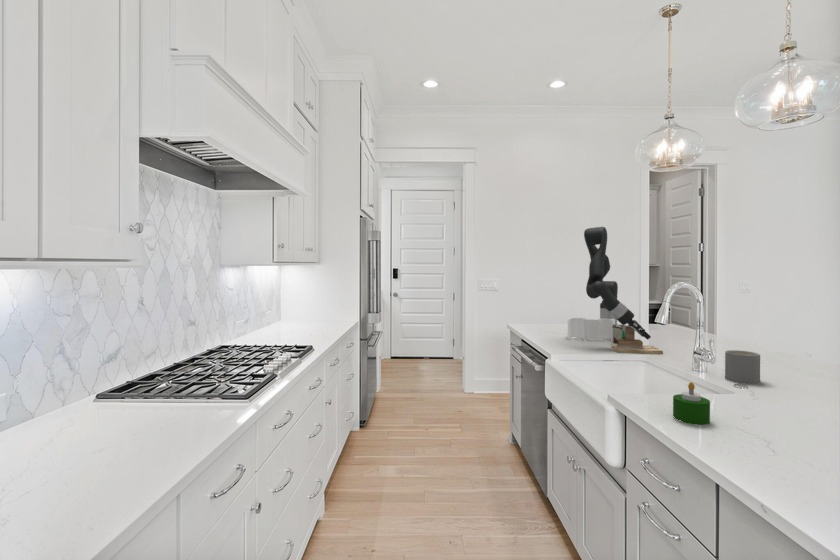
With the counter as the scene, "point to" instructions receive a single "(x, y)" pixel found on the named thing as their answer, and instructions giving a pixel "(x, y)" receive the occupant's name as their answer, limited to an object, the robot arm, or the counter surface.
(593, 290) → the robot arm
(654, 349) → the oak board
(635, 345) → the block
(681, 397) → the candle
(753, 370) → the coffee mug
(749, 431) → the counter surface
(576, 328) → the pale grey segmented block
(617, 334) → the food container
